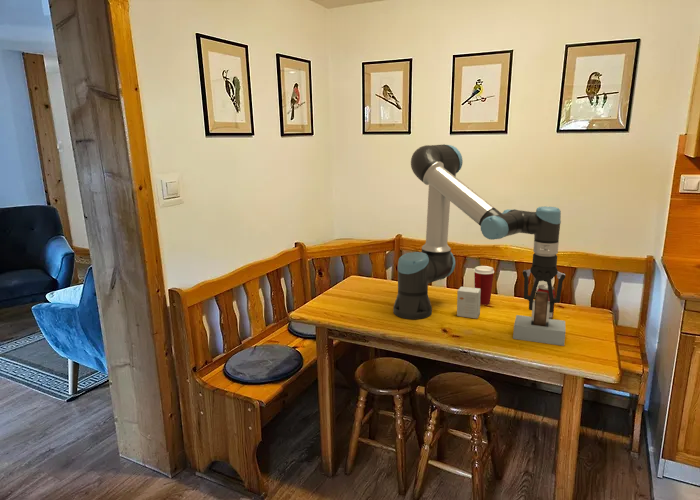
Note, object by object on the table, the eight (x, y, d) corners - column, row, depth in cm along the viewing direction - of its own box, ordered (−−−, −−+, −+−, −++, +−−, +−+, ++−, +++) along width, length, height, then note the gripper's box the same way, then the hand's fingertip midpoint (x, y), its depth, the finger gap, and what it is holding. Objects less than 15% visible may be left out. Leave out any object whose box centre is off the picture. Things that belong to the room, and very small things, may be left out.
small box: (480, 314, 186) (481, 288, 183) (477, 319, 181) (478, 292, 179) (459, 311, 189) (460, 286, 187) (456, 316, 184) (457, 290, 182)
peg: (532, 333, 163) (535, 294, 160) (533, 328, 166) (536, 290, 163) (545, 334, 161) (548, 295, 158) (545, 330, 165) (548, 292, 162)
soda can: (554, 320, 178) (557, 290, 175) (535, 319, 179) (538, 289, 176) (551, 314, 184) (553, 284, 182) (532, 313, 186) (535, 283, 183)
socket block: (513, 338, 163) (514, 325, 162) (515, 327, 172) (516, 314, 171) (564, 345, 157) (565, 331, 156) (563, 334, 166) (565, 320, 165)
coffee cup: (495, 301, 199) (497, 267, 196) (489, 307, 193) (491, 271, 189) (475, 298, 204) (477, 264, 200) (469, 303, 197) (470, 269, 194)
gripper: (517, 254, 157) (512, 320, 163) (573, 258, 151) (567, 327, 156) (519, 249, 164) (514, 313, 170) (573, 253, 158) (567, 319, 163)
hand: (539, 319), depth 163 cm, fingers closed on peg, 4 cm apart
